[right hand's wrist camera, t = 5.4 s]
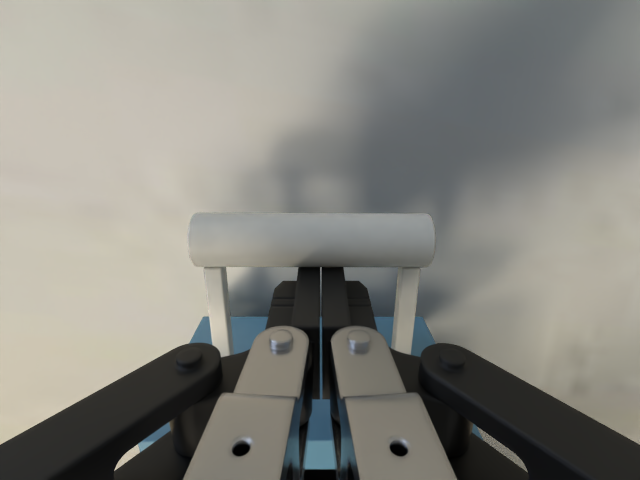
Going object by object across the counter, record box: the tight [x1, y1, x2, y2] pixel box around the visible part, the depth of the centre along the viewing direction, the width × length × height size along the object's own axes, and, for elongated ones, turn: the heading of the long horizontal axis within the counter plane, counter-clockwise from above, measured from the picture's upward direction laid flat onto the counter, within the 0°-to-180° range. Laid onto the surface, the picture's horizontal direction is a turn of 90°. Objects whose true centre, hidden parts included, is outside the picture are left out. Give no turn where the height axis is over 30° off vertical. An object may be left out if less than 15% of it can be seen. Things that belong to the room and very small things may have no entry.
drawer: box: [138, 213, 483, 480], centre depth 15 cm, size 21×10×7 cm, turn 0°
